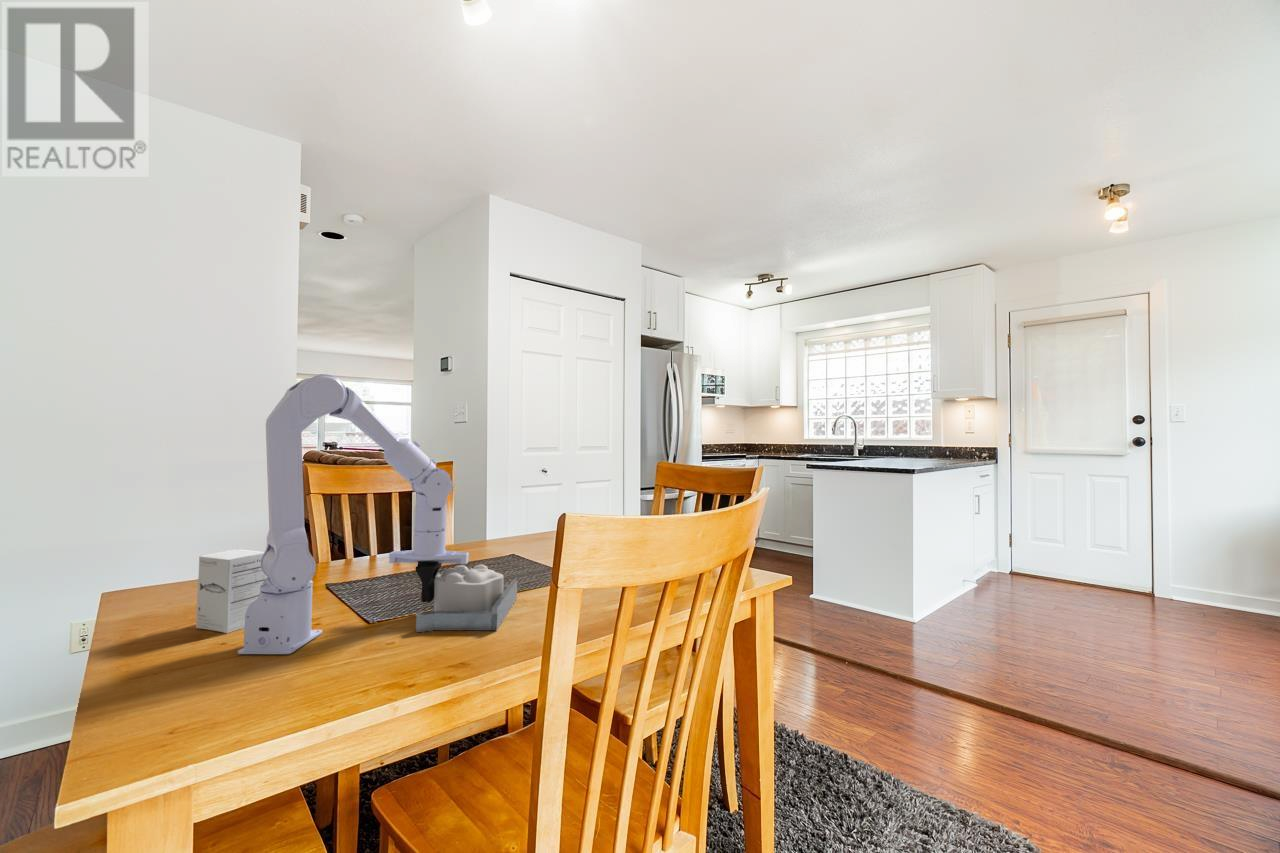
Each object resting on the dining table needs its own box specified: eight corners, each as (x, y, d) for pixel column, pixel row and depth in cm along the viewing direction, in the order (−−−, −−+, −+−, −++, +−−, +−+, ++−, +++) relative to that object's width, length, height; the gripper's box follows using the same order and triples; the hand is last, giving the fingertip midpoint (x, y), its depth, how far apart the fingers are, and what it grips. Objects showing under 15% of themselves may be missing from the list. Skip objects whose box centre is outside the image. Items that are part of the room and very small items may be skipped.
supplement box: (194, 629, 93) (197, 555, 93) (237, 616, 100) (239, 547, 100) (225, 634, 91) (228, 559, 91) (267, 620, 98) (269, 550, 98)
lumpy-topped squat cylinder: (473, 627, 96) (475, 578, 97) (418, 616, 101) (420, 570, 102) (509, 610, 106) (510, 566, 106) (457, 601, 111) (458, 559, 111)
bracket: (495, 633, 94) (495, 610, 94) (412, 633, 93) (413, 609, 93) (517, 597, 115) (518, 578, 115) (451, 596, 114) (451, 577, 114)
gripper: (473, 527, 108) (471, 595, 108) (400, 525, 108) (397, 594, 107) (464, 533, 101) (461, 605, 101) (385, 531, 101) (382, 605, 100)
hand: (427, 600), depth 104 cm, fingers closed
